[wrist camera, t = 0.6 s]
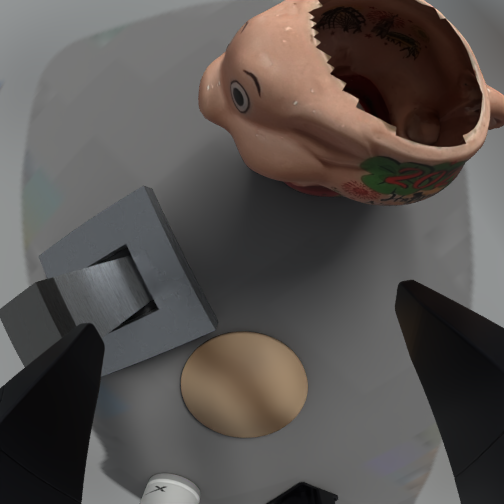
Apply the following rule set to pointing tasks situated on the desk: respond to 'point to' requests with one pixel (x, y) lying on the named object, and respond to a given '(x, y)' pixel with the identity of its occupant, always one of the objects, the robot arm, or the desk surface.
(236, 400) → the walnut coaster
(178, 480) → the travel mug
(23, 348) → the grey square bar
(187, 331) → the grey flat square frame
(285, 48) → the decorative planter
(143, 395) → the desk surface
